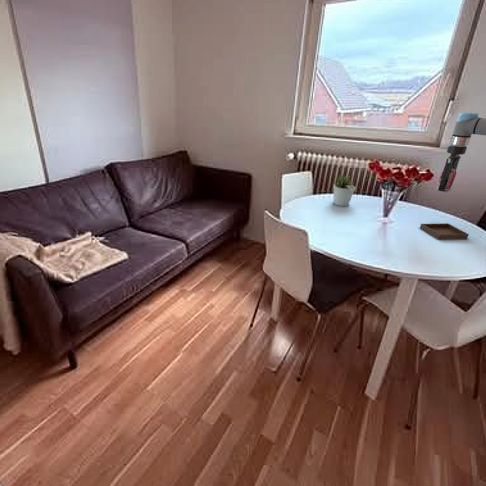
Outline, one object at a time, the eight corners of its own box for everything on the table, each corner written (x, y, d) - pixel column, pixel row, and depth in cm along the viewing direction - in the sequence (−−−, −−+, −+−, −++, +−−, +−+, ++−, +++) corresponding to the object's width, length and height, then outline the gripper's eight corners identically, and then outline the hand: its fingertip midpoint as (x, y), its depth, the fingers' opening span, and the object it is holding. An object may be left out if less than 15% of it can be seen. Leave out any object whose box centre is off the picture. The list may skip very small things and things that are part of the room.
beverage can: (452, 192, 163) (460, 170, 158) (442, 193, 162) (450, 170, 157) (442, 189, 168) (449, 167, 164) (432, 189, 167) (439, 167, 162)
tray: (467, 239, 153) (468, 234, 152) (437, 239, 152) (439, 234, 151) (446, 227, 165) (448, 223, 164) (419, 228, 164) (421, 223, 163)
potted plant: (327, 199, 203) (333, 169, 195) (350, 201, 200) (356, 171, 191) (329, 205, 192) (334, 174, 184) (352, 208, 189) (360, 176, 180)
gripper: (455, 142, 163) (441, 184, 173) (442, 146, 152) (428, 191, 162) (472, 144, 158) (457, 188, 168) (461, 148, 147) (445, 195, 157)
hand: (443, 189), depth 165 cm, fingers closed on beverage can, 6 cm apart
